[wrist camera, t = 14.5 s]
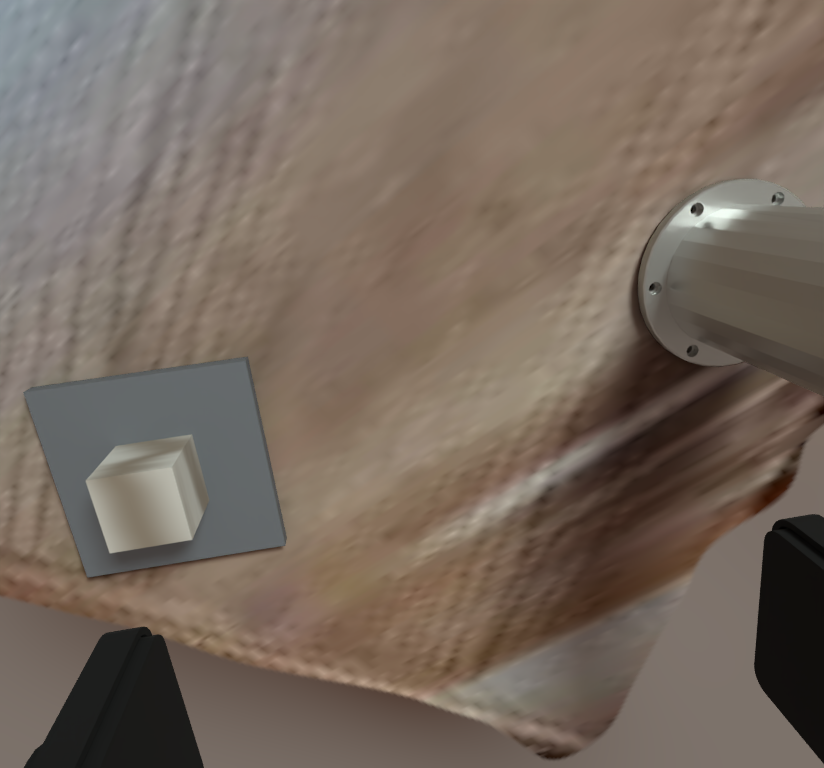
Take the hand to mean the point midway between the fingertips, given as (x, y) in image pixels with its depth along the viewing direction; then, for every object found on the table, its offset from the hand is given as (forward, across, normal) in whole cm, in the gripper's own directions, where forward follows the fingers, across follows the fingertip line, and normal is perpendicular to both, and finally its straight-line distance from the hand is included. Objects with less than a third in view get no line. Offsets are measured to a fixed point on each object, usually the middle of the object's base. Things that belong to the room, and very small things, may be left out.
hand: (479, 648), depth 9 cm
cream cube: (+31, +16, +10) cm, 37 cm away
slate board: (+32, +16, +10) cm, 37 cm away
